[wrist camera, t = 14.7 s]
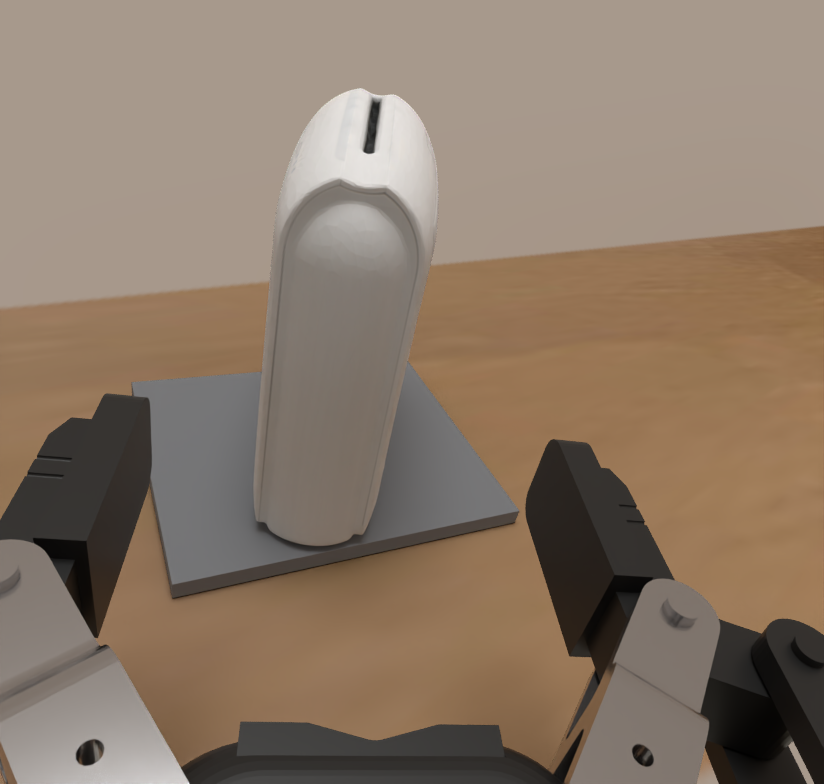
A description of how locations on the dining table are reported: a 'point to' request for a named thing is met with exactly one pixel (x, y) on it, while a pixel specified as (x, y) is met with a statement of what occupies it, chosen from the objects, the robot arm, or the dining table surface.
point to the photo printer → (342, 313)
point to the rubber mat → (234, 476)
